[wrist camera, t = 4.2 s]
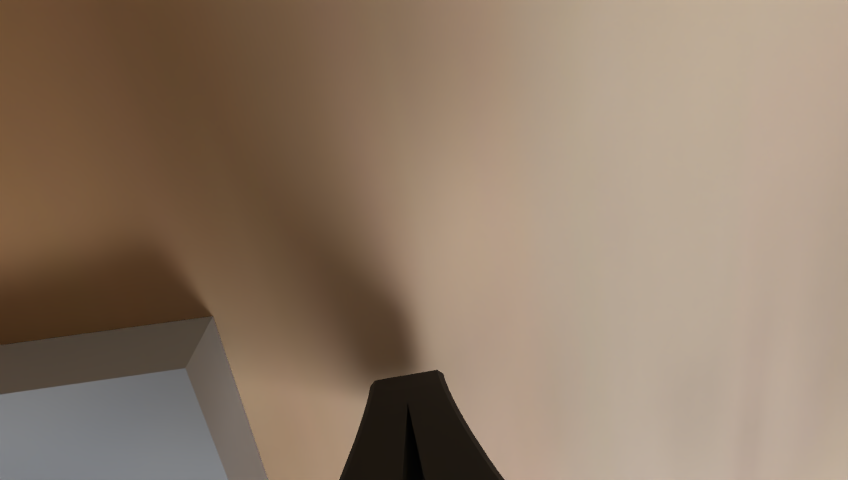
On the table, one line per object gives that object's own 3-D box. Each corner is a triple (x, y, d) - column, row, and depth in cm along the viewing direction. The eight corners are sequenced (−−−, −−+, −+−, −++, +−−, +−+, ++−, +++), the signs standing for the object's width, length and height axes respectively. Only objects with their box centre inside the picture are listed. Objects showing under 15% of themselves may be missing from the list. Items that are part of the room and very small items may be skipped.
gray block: (219, 304, 10) (185, 367, 8) (275, 476, 12) (258, 558, 10) (-142, 353, 10) (-261, 431, 8) (-20, 522, 12) (-92, 614, 10)
